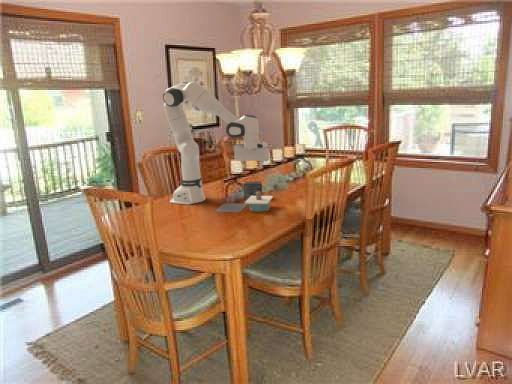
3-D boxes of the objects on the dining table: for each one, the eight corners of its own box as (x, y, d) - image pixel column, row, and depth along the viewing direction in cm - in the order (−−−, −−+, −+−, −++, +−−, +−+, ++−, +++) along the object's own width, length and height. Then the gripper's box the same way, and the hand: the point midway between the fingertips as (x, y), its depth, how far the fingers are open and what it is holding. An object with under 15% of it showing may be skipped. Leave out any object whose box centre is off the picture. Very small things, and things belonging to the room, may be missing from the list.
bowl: (247, 211, 221) (246, 203, 219) (253, 205, 231) (252, 197, 230) (266, 212, 218) (266, 203, 216) (271, 206, 228) (270, 197, 226)
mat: (214, 212, 224) (214, 211, 224) (224, 204, 238) (223, 203, 238) (239, 212, 220) (239, 212, 220) (247, 204, 234) (247, 203, 234)
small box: (262, 197, 247) (261, 180, 244) (262, 200, 241) (260, 183, 238) (246, 197, 248) (244, 181, 245) (244, 200, 242) (243, 184, 239)
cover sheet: (244, 203, 219) (243, 195, 218) (251, 196, 231) (250, 189, 230) (267, 204, 215) (266, 195, 214) (272, 197, 227) (272, 189, 226)
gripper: (232, 144, 221) (233, 169, 225) (267, 145, 215) (268, 170, 219) (235, 143, 227) (237, 166, 230) (270, 143, 221) (270, 167, 225)
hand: (252, 168), depth 225 cm, fingers open, 8 cm apart
